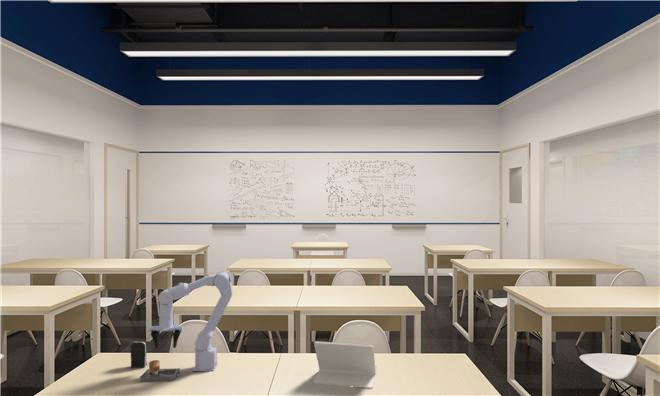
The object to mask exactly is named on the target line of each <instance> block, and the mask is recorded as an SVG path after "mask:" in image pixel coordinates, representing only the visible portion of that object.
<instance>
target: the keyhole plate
mask: <svg viewBox="0 0 660 396" xmlns="http://www.w3.org/2000/svg"><path fill="white" fill-rule="evenodd" d="M179 375H181V368H179V367H178V368H160V369H159V370H158V374H151V371H150V370H149V368H148V369H146V370H145V372H143V373H142V374H141V375H140V377H139V378H140V379H139V381H140V383H141V382H143V383H144V382H173V381H176V380H177V377H179Z"/></svg>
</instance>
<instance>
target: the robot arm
mask: <svg viewBox="0 0 660 396" xmlns="http://www.w3.org/2000/svg"><path fill="white" fill-rule="evenodd" d="M204 286H205V287H206V286H211V287H214V286H215V287H216V289H218V291H219V293H220V297H219V299H218V301H217V303H216V305H215V307H214V309H213V310H212V313H211V314H210V316H209V318H208V320H207V322H206V324H205V326H204V327H203V329H202V331H200V332H198V334H197V338H196V339H195V342H194V346H195V348H194V355H195V356H194V358H195V359H194V363H195V365H194V367H193V369H192V372H206V371H207V372H210V371H214V370H215V369H216V367H217V366H218V349H217V347H213V346H212V345H211V341H212V336H213V334H214V332H215V330H216V327H217V326H218V324H219V322H220V321H221V318H222V316H223V314H224V312H225V310H226V308H227V307H228V305H229V303H230V301H231V299H232V296H233V287H232V278H231V277H230V275H229V273H228V272H227V271H223V270H222V271H219V272H218V273H217V272H215V273H211V274H209V275H206V276H204V277H202V278H199V279H197V280H194V281H192V282H190V283H186V282H179V283H178V284H177V285H175V286H173V287H168V288H167V289H166V288H165V289H164V290H163V291H161V292H160V293H159V295H158V298H157V300H158V302H159V309H158V310H159V311H158V312H159V314H158V315H159V319H158V320H159V321H158V322H159V325H153V326H152V325H151V326H149V327H148V332H149V333H150V337H151V338H152V340H153V342H154V345H155V349H158V348H159V347H160V333H161V332H172V339H173V343H172V345H173V346H172V348H173V349H175V348H176V347H177V344H178V341H179V338H180V335H181V333H182V332H183V331H184V325H176V324H174V306H173V304H174V303H173V302H174V301H175V300H179V299H181V298H183V297H186V296H188V295H190V292H191V291H193V290H196V289H199V288H201V287H204Z"/></svg>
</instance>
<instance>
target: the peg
mask: <svg viewBox="0 0 660 396" xmlns="http://www.w3.org/2000/svg"><path fill="white" fill-rule="evenodd" d="M160 365H161V364H160V360H158V359H157V360H156V359H155V360H150V361H149V362H148V369H149V370H150V371H151V374H158V370H159V369H161V368H160V367H161V366H160Z"/></svg>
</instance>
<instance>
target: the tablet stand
mask: <svg viewBox="0 0 660 396" xmlns="http://www.w3.org/2000/svg"><path fill="white" fill-rule="evenodd" d="M313 345H314V350H315V354H316V360H317V364H318V372H317V374H316V375H315V377H314V378H313V382H312V383H313V385H321V386H322V385H323V386H332V385H335V386H334V387H343V386H353V387H352V388H355V387H364V388H363V389H366V388H373V389H374V386H373V384H374V385H375V381H376V376H375V375H377V365H376V361H375V360H376V359H375V352H374V351H375V350H374V349H375V348H374V345H373V344H361V343H349V342H347V343H346V342H334V341H333V342H332V341H331V342H330V341H329V342H328V341H314V342H313ZM374 380H375V381H374Z"/></svg>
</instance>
